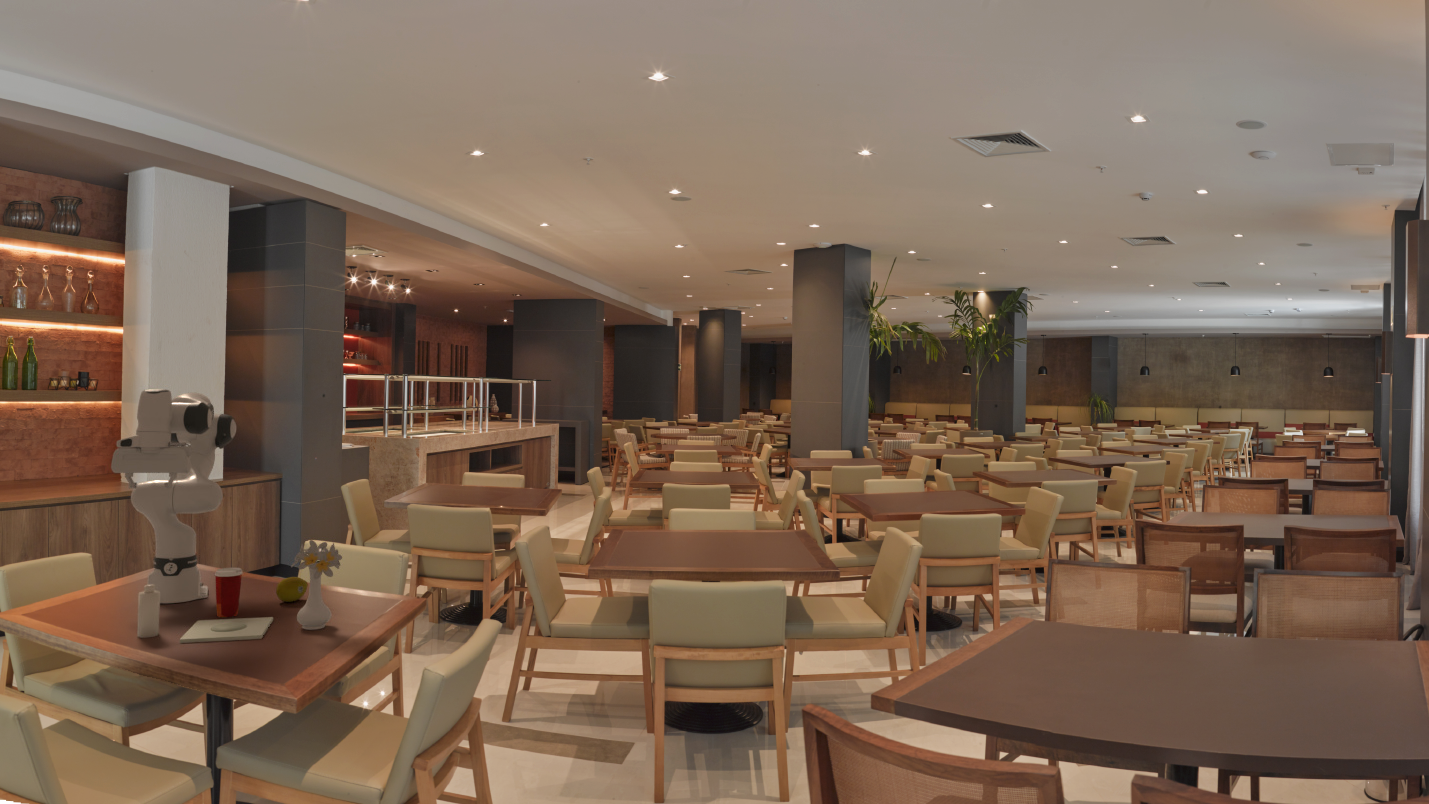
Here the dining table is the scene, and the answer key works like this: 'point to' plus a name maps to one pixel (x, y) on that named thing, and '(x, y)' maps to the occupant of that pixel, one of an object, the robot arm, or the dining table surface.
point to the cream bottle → (148, 612)
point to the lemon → (291, 589)
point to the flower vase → (316, 583)
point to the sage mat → (227, 629)
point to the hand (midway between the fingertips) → (150, 488)
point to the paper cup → (228, 591)
